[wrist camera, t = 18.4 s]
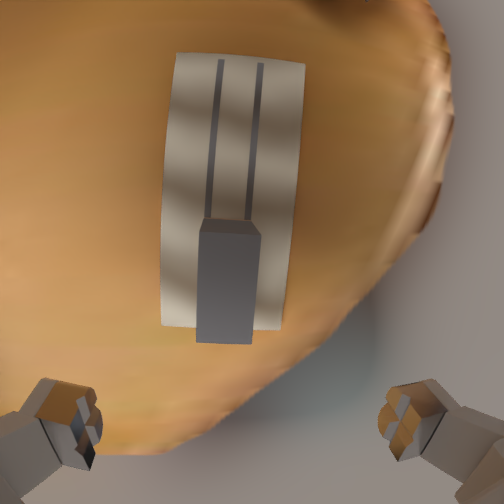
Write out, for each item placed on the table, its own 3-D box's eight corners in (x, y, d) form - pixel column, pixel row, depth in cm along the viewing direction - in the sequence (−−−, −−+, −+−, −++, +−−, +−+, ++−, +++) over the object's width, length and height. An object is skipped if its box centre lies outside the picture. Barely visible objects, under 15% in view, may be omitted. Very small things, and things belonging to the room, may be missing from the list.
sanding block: (203, 217, 23) (199, 231, 17) (250, 220, 23) (261, 235, 18) (200, 304, 25) (196, 342, 19) (243, 306, 25) (251, 344, 19)
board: (179, 58, 21) (176, 52, 20) (300, 69, 22) (305, 63, 21) (164, 317, 26) (161, 325, 25) (277, 322, 27) (280, 330, 26)
